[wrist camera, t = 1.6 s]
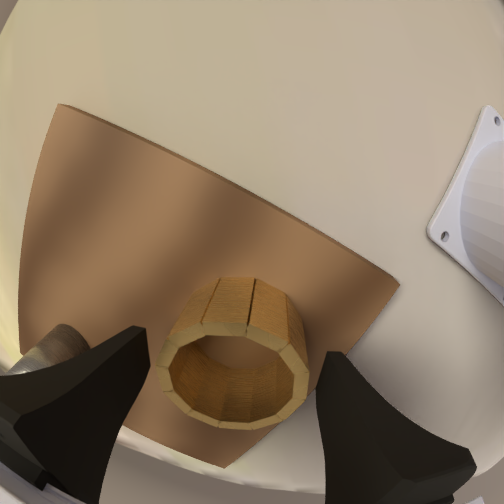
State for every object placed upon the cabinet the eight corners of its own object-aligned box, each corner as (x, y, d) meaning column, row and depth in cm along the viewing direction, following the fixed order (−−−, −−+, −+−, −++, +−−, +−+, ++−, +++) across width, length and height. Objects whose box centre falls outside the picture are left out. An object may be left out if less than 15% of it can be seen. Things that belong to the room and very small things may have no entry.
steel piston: (94, 342, 14) (42, 405, 8) (88, 372, 15) (45, 430, 9) (55, 314, 13) (-3, 366, 8) (53, 346, 14) (5, 396, 9)
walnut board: (392, 276, 12) (400, 284, 11) (226, 458, 18) (224, 468, 17) (69, 105, 11) (58, 103, 10) (27, 346, 16) (20, 352, 15)
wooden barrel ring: (324, 313, 12) (339, 364, 9) (263, 389, 14) (259, 442, 10) (212, 254, 12) (188, 292, 8) (167, 344, 13) (141, 392, 10)
